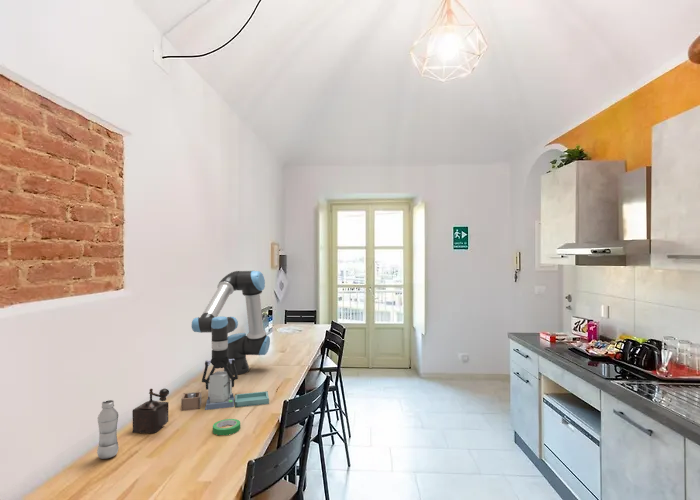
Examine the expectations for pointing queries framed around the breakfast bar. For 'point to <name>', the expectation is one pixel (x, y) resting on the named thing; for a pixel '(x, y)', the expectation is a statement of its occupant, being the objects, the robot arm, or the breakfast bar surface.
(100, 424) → the plastic bottle
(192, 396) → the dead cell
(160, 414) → the manual coffee grinder
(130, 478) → the breakfast bar surface
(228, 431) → the tape roll
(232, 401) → the base
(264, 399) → the teal shallow tray
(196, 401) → the brown open box
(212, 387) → the supplement box
